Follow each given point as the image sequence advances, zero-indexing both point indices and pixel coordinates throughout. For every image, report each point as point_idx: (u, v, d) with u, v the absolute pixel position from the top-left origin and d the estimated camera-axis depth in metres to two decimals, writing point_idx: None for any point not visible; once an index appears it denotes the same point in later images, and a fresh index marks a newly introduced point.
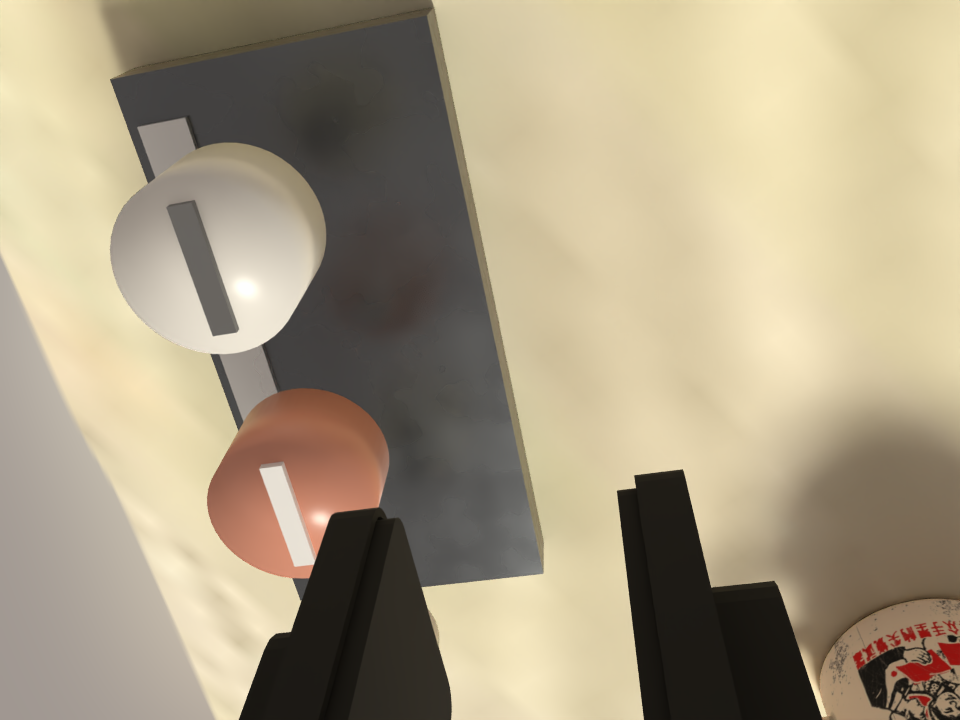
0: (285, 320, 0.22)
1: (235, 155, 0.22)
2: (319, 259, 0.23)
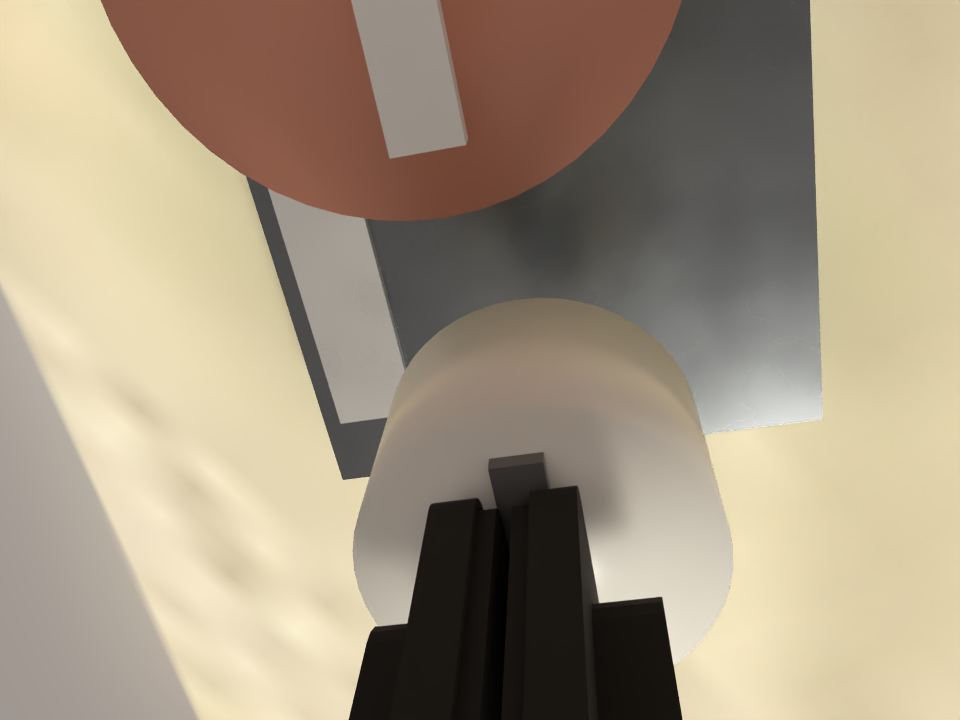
0: None
1: None
2: None
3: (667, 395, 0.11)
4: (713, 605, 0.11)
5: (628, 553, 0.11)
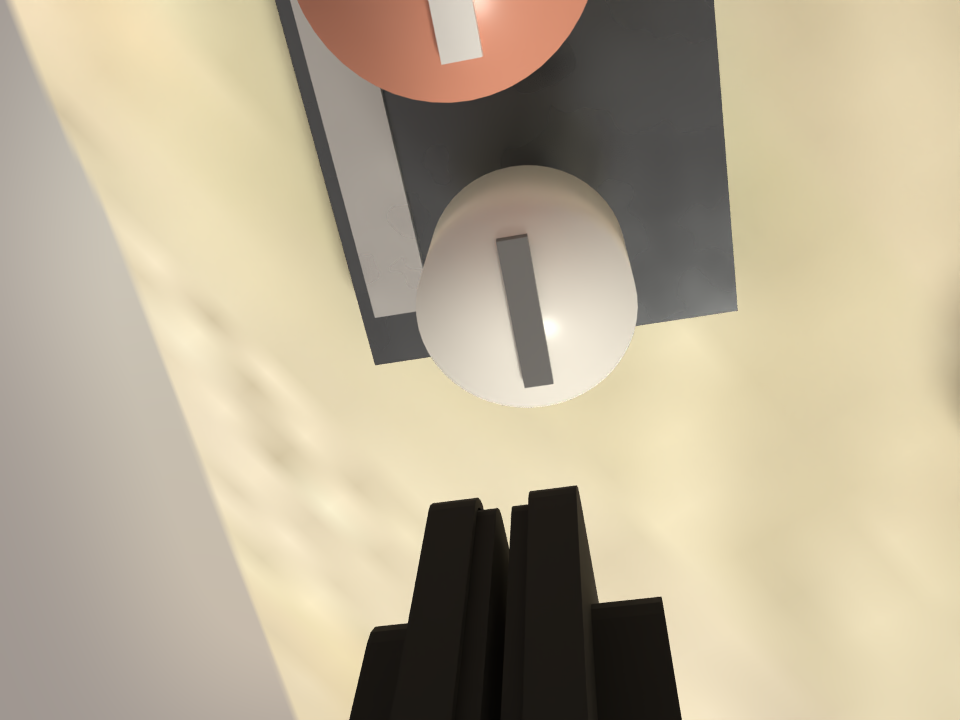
0: None
1: None
2: None
3: (601, 212, 0.19)
4: (627, 333, 0.18)
5: (577, 299, 0.18)
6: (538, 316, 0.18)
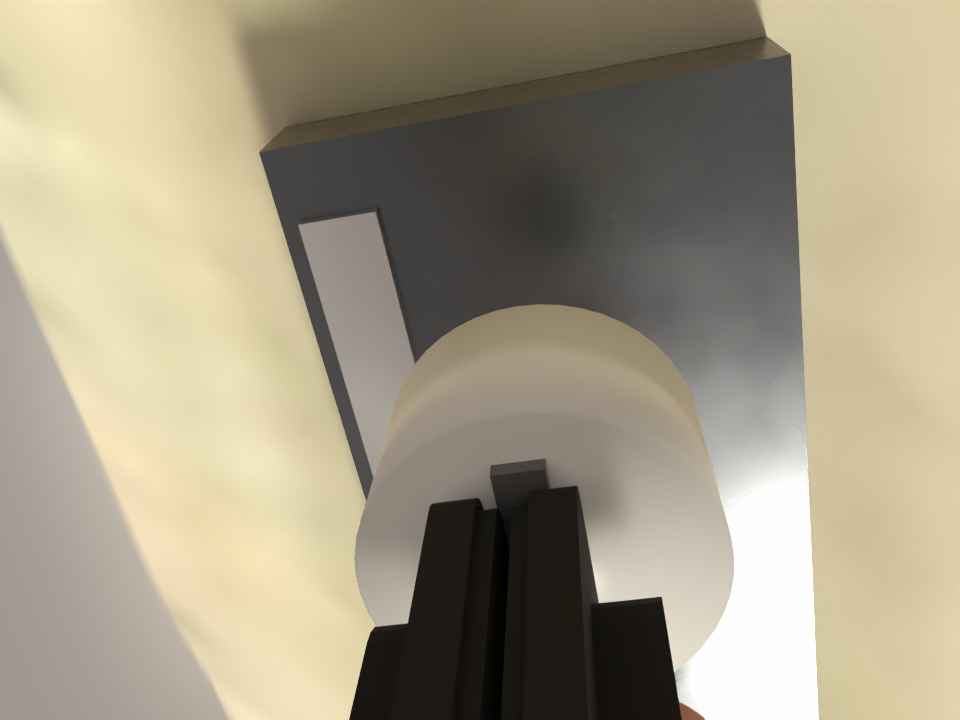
0: (681, 661, 0.11)
1: (583, 342, 0.11)
2: None
3: None
4: None
5: None
6: None
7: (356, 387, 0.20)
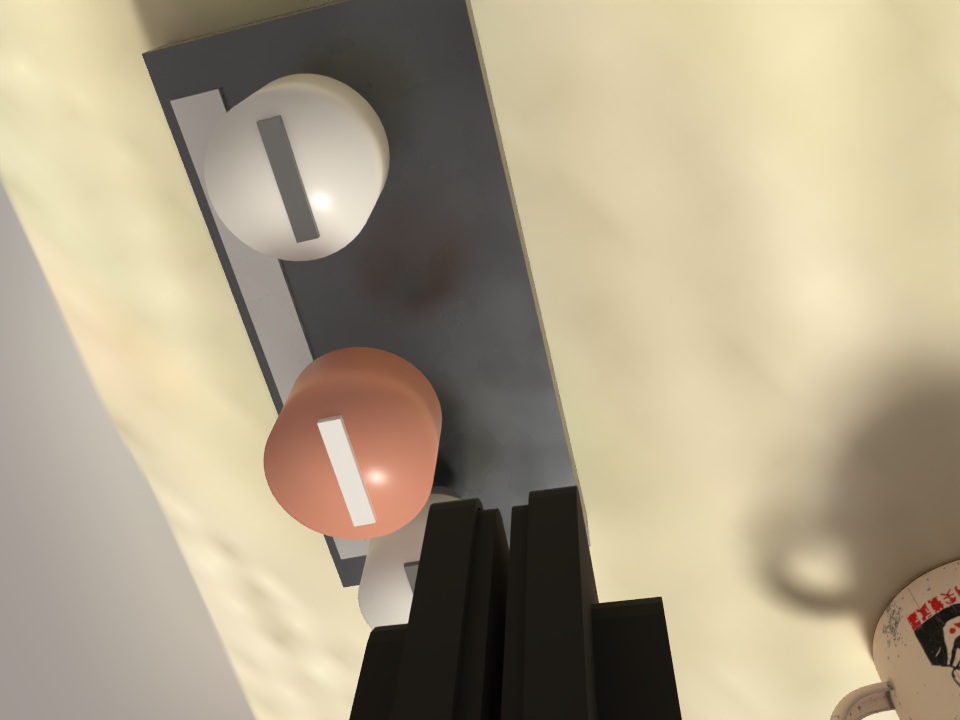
0: (362, 225, 0.24)
1: (310, 80, 0.24)
2: (385, 177, 0.26)
3: None
4: None
5: None
6: None
7: None
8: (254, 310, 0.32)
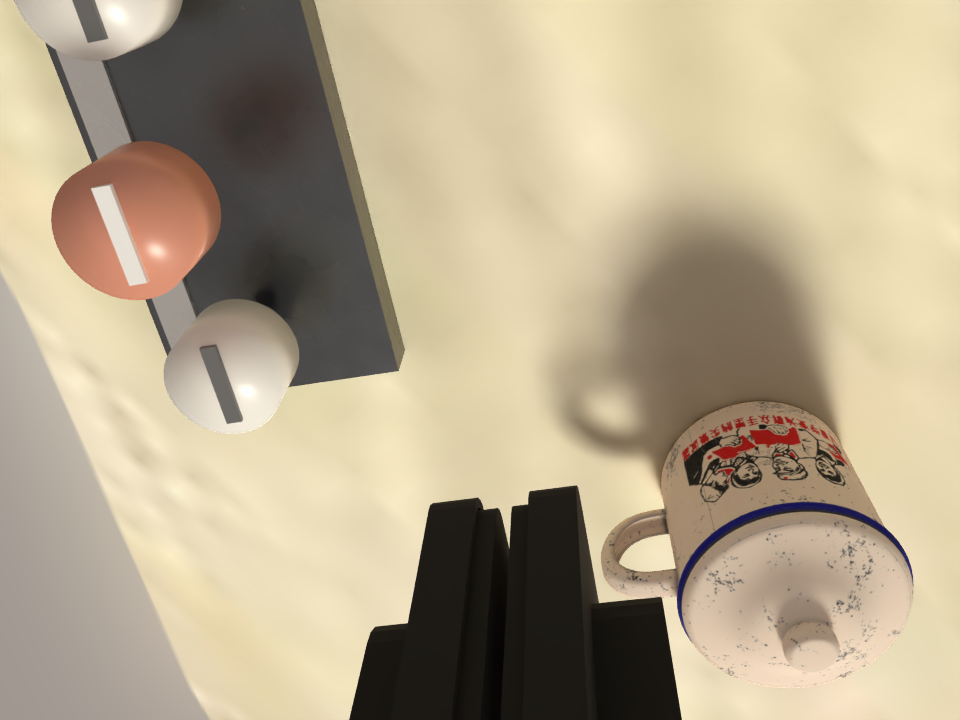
0: (142, 30, 0.28)
1: None
2: None
3: (265, 329, 0.34)
4: (278, 395, 0.34)
5: (248, 377, 0.34)
6: (227, 386, 0.34)
7: None
8: (93, 134, 0.36)
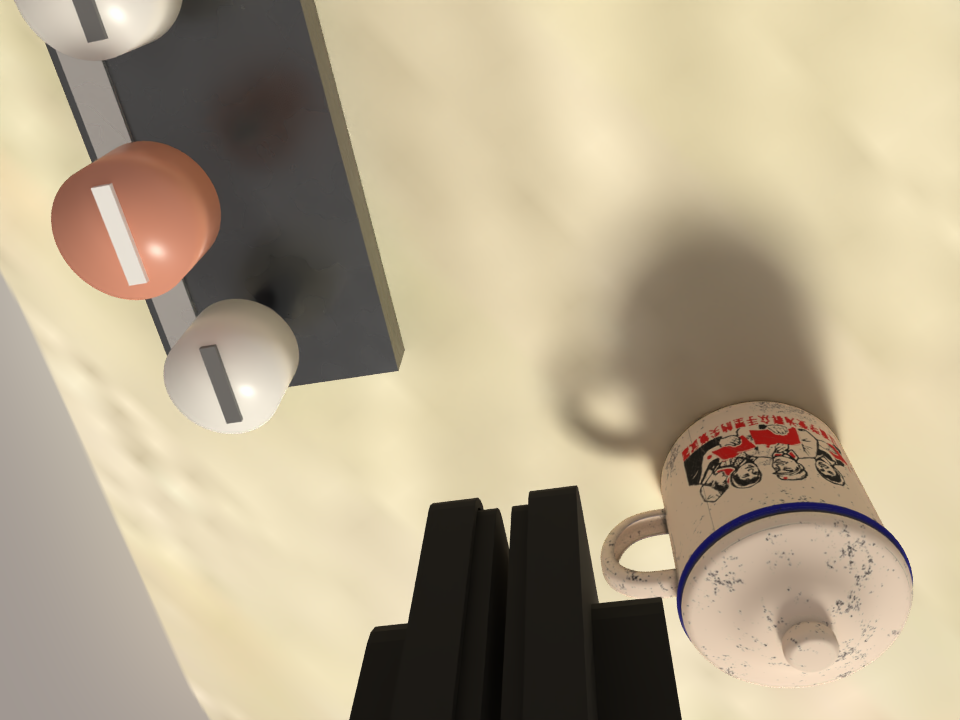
0: (142, 30, 0.28)
1: None
2: None
3: (265, 329, 0.34)
4: (277, 395, 0.34)
5: (248, 377, 0.34)
6: (227, 386, 0.34)
7: None
8: (93, 134, 0.36)
